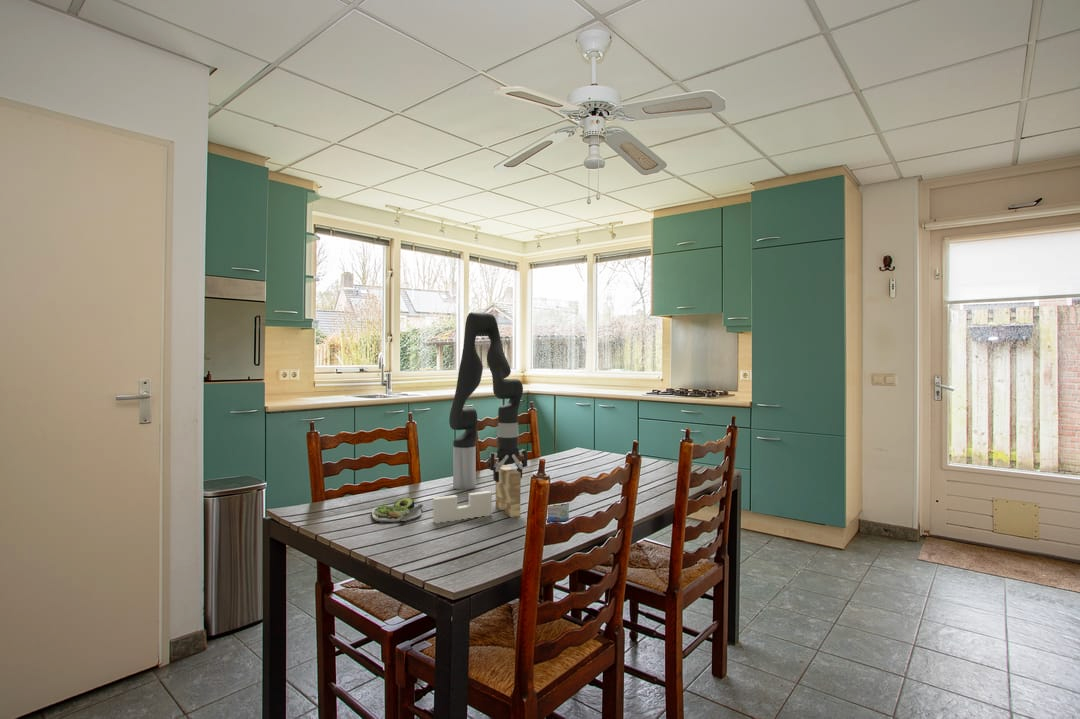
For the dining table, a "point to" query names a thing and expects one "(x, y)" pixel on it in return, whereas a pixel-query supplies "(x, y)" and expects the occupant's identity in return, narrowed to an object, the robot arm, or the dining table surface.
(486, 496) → the slotted board
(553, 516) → the medicine box
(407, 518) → the salad plate
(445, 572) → the dining table surface
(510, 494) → the tan thick flat block
